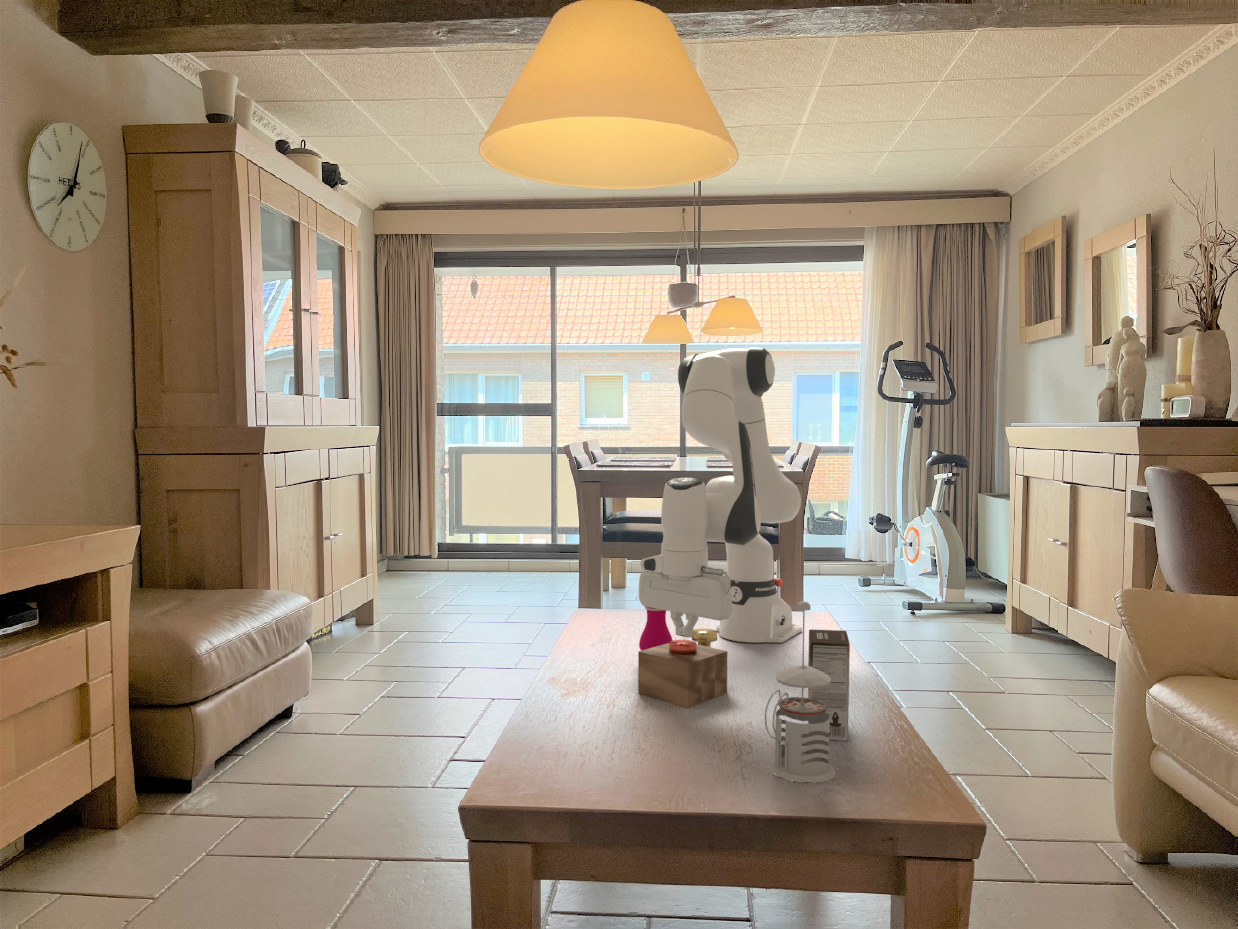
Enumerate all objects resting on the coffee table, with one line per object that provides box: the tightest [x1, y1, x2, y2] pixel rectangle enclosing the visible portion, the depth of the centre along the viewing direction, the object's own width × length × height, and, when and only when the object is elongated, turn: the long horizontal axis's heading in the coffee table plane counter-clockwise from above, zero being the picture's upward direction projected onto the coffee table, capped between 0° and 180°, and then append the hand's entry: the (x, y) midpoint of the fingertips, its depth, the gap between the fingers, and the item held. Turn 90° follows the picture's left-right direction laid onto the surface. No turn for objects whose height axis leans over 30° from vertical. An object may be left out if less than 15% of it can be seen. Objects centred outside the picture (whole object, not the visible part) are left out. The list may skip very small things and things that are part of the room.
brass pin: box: [690, 627, 718, 648], centre depth 171 cm, size 5×5×9 cm
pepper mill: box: [638, 606, 674, 651], centre depth 178 cm, size 7×7×20 cm
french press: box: [764, 600, 837, 784], centre depth 123 cm, size 10×12×25 cm
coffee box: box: [807, 629, 851, 742], centre depth 139 cm, size 9×6×16 cm
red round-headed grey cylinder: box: [669, 639, 698, 655], centre depth 159 cm, size 5×5×9 cm
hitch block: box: [637, 643, 728, 709], centre depth 159 cm, size 12×12×8 cm
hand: (684, 636), depth 159 cm, fingers closed
